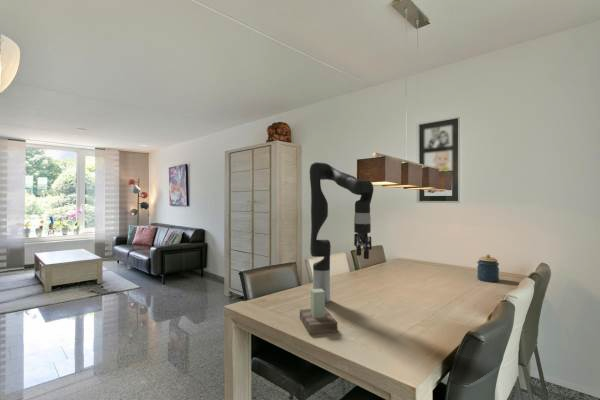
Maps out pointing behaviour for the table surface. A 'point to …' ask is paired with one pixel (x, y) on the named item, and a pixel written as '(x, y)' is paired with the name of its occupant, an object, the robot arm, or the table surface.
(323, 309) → the sage block
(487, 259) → the canister
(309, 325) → the walnut base
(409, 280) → the table surface
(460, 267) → the table surface
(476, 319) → the table surface
